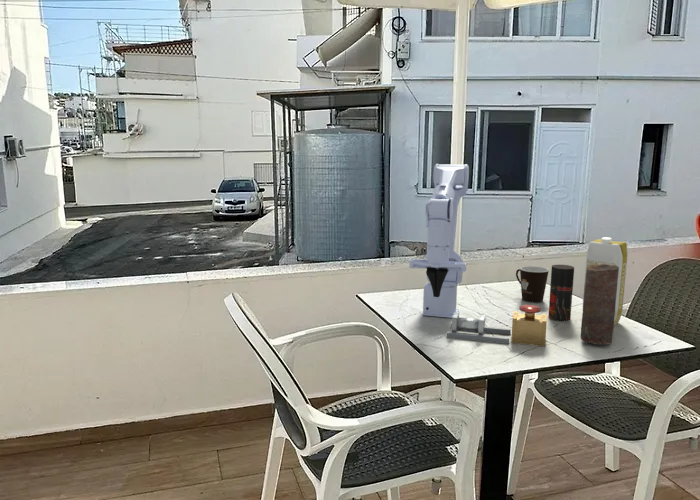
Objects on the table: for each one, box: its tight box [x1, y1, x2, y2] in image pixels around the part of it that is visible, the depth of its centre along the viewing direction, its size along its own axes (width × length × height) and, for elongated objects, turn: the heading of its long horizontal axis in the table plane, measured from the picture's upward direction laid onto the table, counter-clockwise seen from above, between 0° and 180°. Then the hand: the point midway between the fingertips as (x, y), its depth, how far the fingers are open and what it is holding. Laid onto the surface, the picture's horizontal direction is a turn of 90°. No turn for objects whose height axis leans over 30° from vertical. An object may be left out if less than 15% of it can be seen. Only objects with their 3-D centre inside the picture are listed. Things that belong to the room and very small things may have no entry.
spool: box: [450, 312, 486, 335], centre depth 147 cm, size 8×5×5 cm, turn 72°
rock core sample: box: [580, 264, 619, 346], centre depth 139 cm, size 8×7×20 cm
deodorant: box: [547, 264, 575, 322], centre depth 160 cm, size 6×6×15 cm
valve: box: [510, 304, 548, 347], centre depth 142 cm, size 8×6×9 cm
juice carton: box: [582, 236, 628, 326], centre depth 155 cm, size 9×8×24 cm
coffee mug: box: [515, 265, 550, 304], centre depth 180 cm, size 12×9×10 cm
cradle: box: [446, 322, 512, 345], centre depth 147 cm, size 16×8×1 cm, turn 72°
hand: (436, 296), depth 148 cm, fingers closed
